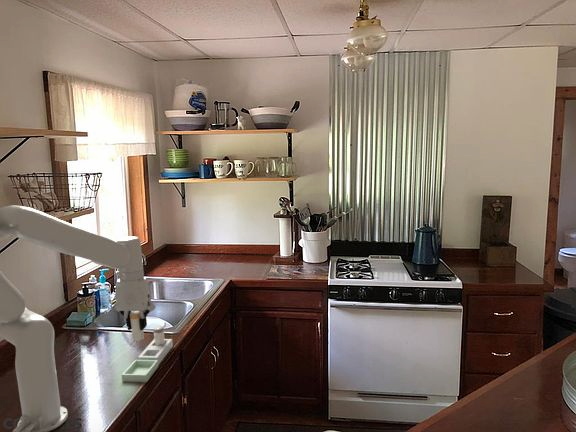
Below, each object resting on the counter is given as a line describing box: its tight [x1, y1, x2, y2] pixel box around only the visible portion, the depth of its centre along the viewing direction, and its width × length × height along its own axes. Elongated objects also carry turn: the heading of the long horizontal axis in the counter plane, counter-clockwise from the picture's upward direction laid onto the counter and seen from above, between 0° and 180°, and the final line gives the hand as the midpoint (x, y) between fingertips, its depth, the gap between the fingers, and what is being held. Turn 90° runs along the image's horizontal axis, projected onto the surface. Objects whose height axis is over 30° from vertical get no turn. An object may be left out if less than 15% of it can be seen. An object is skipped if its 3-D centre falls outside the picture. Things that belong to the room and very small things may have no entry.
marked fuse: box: [130, 311, 145, 342], centre depth 153 cm, size 4×4×9 cm
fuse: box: [152, 325, 166, 346], centre depth 172 cm, size 4×4×9 cm
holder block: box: [137, 338, 174, 366], centre depth 168 cm, size 15×7×3 cm, turn 174°
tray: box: [121, 359, 159, 383], centre depth 155 cm, size 10×8×2 cm
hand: (137, 328), depth 153 cm, fingers closed on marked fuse, 3 cm apart
